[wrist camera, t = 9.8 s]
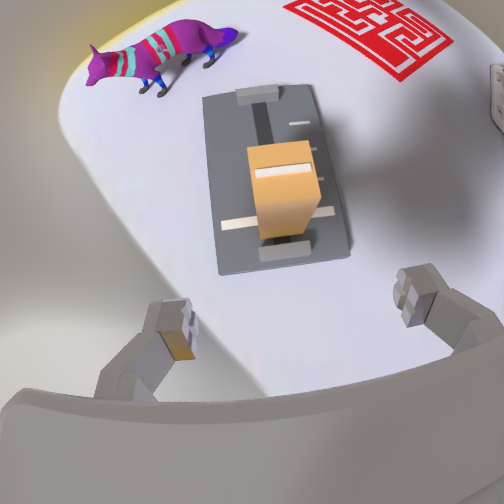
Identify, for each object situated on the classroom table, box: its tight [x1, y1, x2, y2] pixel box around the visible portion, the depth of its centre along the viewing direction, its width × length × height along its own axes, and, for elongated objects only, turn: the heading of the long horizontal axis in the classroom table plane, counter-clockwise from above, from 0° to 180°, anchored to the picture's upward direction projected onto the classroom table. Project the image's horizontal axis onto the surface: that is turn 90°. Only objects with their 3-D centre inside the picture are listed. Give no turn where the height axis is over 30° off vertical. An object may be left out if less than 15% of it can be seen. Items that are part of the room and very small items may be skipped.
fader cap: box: [247, 140, 321, 240], centre depth 20 cm, size 4×4×9 cm
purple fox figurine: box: [86, 19, 238, 98], centre depth 25 cm, size 4×18×10 cm, turn 128°
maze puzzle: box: [283, 0, 454, 82], centre depth 30 cm, size 20×20×1 cm
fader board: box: [202, 84, 350, 276], centre depth 25 cm, size 18×11×3 cm, turn 8°
